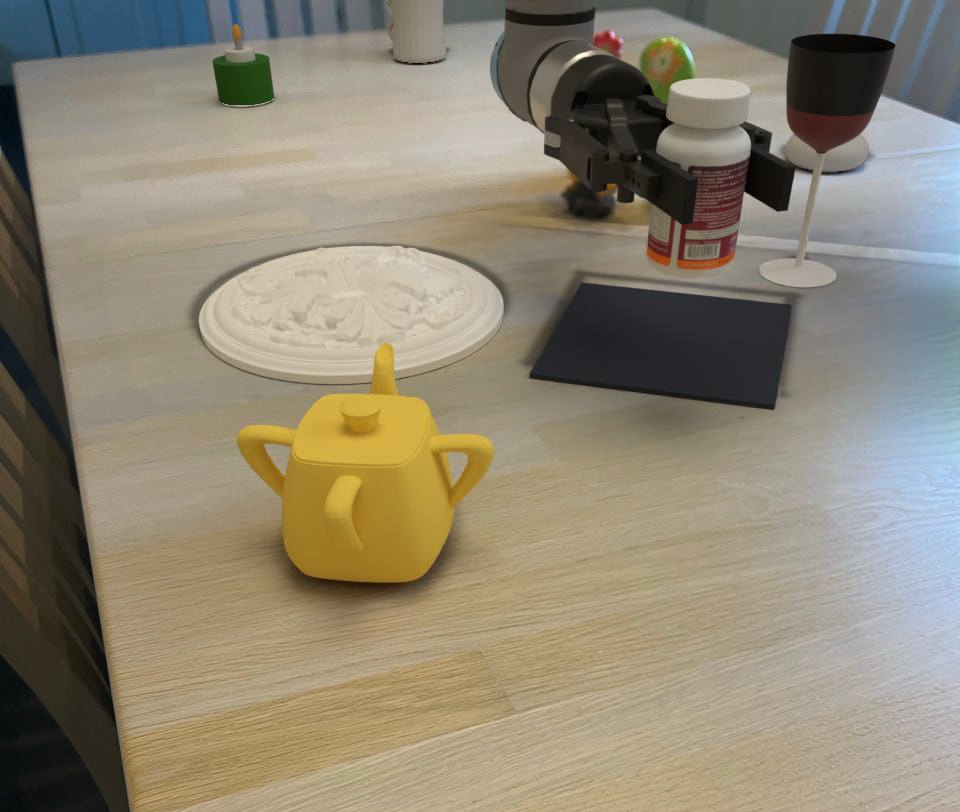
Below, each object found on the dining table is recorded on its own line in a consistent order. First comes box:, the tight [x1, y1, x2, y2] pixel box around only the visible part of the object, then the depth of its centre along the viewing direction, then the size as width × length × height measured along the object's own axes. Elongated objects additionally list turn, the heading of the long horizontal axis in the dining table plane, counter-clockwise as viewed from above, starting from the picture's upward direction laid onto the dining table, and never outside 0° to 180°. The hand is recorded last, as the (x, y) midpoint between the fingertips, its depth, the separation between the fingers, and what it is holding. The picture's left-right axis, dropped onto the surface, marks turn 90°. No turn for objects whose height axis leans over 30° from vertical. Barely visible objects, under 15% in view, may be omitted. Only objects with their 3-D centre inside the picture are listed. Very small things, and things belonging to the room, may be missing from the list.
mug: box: [385, 0, 447, 64], centre depth 170 cm, size 12×9×10 cm
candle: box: [212, 23, 275, 105], centre depth 150 cm, size 8×8×10 cm
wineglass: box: [758, 33, 896, 288], centre depth 94 cm, size 8×9×20 cm
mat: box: [528, 281, 793, 410], centre depth 89 cm, size 20×20×1 cm
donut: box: [784, 133, 870, 173], centre depth 126 cm, size 10×4×10 cm
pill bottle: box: [646, 77, 752, 280], centre depth 68 cm, size 6×6×11 cm
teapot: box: [236, 343, 495, 583], centre depth 64 cm, size 14×13×10 cm
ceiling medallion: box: [198, 245, 505, 385], centre depth 93 cm, size 28×28×3 cm
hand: (738, 195), depth 64 cm, fingers closed on pill bottle, 6 cm apart
